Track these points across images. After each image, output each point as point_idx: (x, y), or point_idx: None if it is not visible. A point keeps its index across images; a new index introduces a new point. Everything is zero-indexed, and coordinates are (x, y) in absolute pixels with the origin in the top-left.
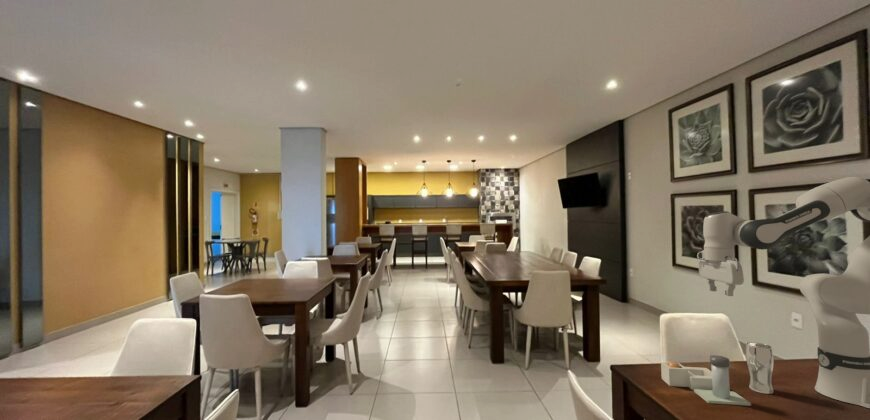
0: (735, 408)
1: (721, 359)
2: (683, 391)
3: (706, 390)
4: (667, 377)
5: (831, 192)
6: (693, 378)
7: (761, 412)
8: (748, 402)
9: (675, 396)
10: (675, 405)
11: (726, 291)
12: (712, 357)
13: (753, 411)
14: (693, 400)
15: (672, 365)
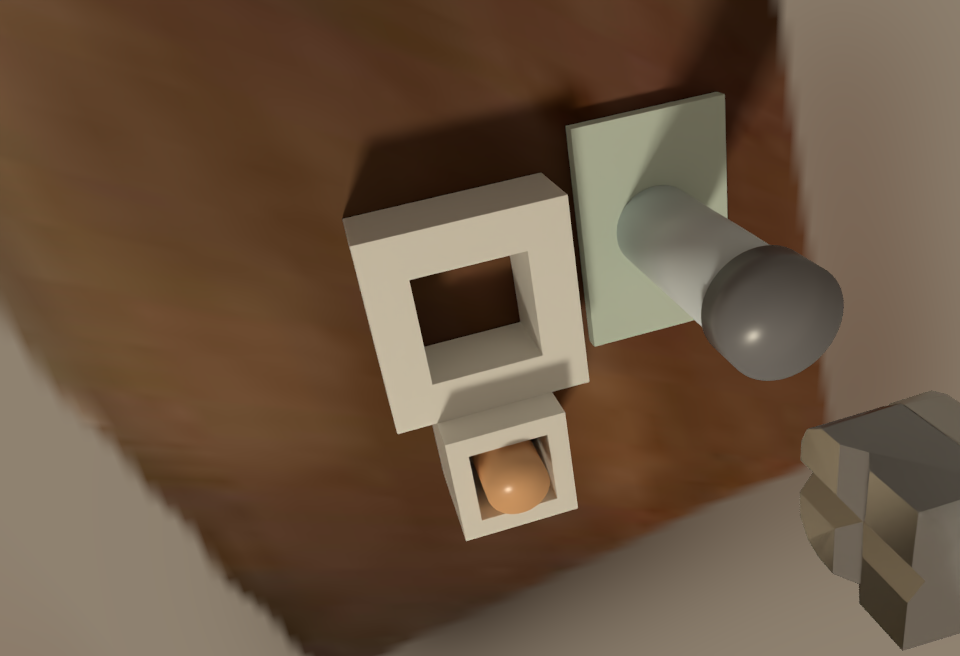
0: (760, 190)
1: (818, 318)
2: (600, 390)
3: (597, 285)
4: None
5: None
6: (585, 367)
7: (787, 69)
8: (717, 104)
9: (673, 433)
10: (769, 444)
11: (956, 607)
12: (781, 367)
13: (781, 108)
14: (702, 364)
15: (542, 493)
